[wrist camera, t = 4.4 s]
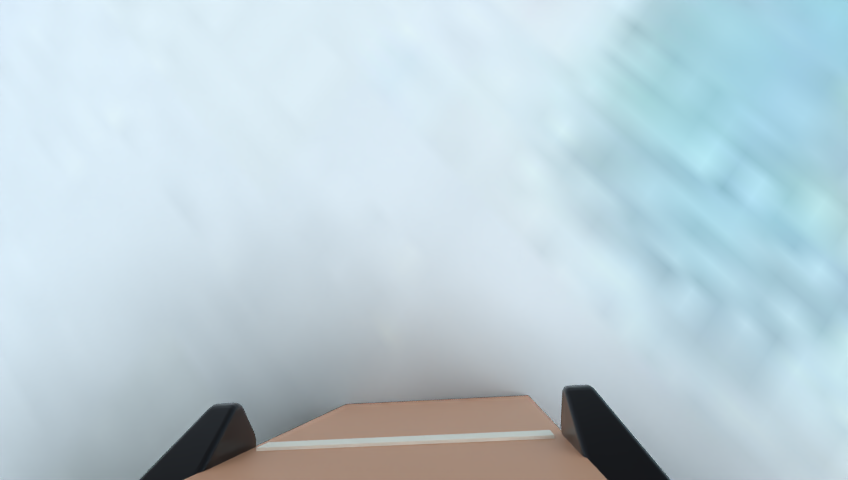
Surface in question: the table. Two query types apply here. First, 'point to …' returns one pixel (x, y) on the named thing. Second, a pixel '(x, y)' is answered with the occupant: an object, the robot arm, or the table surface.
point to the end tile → (417, 445)
